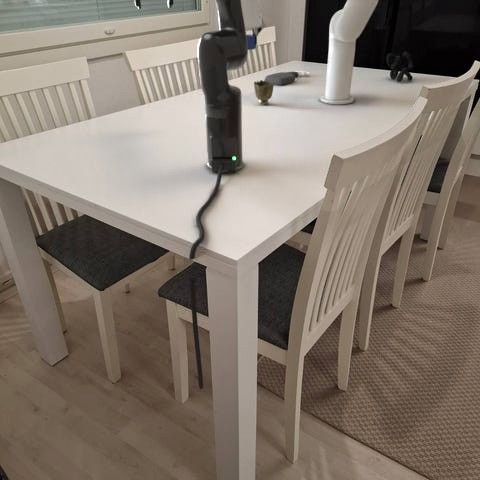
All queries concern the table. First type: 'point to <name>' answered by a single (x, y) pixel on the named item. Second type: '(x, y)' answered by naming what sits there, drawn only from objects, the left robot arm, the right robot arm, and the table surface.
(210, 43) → the left robot arm
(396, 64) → the squiggle
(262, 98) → the cup
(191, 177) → the table surface
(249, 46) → the brick
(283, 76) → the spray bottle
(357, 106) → the table surface
